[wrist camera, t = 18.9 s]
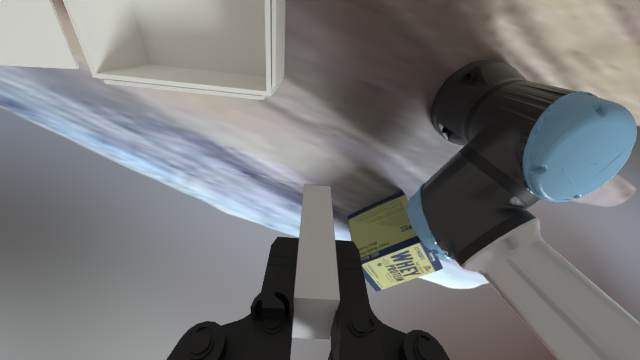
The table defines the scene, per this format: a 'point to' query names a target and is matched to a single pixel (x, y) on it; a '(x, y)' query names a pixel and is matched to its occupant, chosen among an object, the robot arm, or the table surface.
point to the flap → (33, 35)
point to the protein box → (390, 244)
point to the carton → (184, 44)
